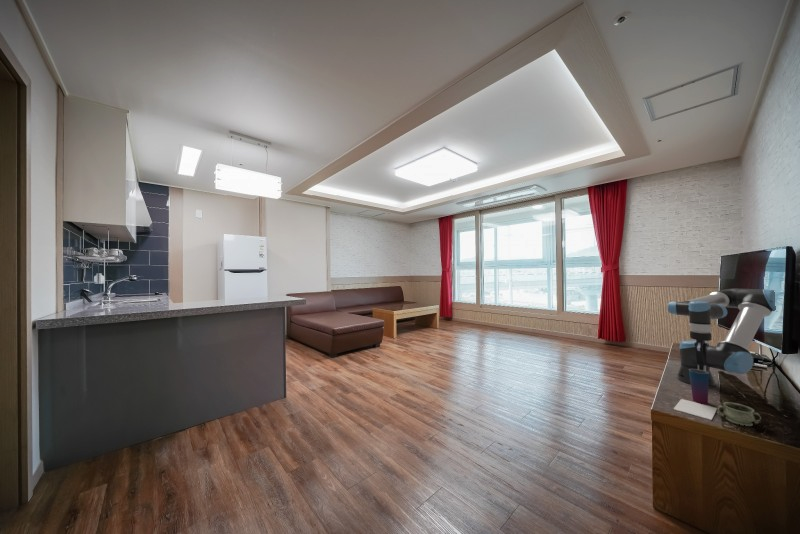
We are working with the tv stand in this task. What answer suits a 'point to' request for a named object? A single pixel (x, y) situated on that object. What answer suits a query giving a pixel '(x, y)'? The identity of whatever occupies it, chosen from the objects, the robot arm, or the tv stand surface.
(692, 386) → the cup
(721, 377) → the tv stand surface
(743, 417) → the vessel
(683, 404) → the mat
